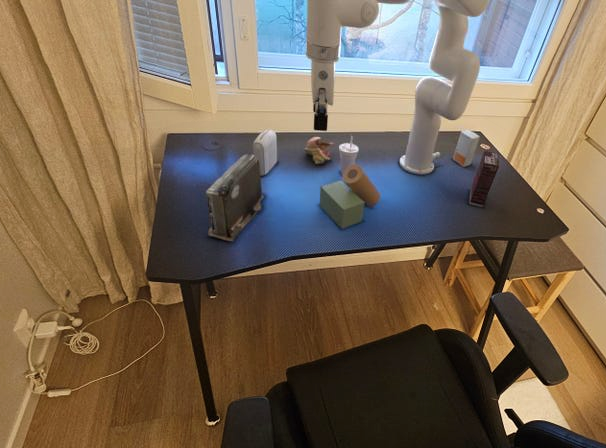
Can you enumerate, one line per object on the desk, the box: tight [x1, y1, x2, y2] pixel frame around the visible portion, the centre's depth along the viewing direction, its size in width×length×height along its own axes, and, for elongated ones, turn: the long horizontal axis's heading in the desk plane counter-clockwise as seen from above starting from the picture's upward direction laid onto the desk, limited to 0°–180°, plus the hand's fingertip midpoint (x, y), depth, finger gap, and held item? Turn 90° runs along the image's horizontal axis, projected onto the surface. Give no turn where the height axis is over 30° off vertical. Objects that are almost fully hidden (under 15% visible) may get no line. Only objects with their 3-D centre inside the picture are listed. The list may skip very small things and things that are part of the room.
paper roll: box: [342, 164, 381, 208], centre depth 115 cm, size 13×6×15 cm, turn 129°
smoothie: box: [338, 135, 360, 176], centre depth 129 cm, size 6×6×14 cm
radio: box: [205, 152, 264, 242], centre depth 105 cm, size 23×9×15 cm, turn 164°
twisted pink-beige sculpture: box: [303, 136, 335, 165], centre depth 135 cm, size 9×10×10 cm
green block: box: [319, 179, 365, 230], centre depth 114 cm, size 7×12×7 cm, turn 39°
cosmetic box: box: [452, 129, 481, 168], centre depth 146 cm, size 6×4×12 cm
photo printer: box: [252, 129, 278, 176], centre depth 125 cm, size 10×4×12 cm, turn 169°
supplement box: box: [468, 150, 500, 208], centre depth 128 cm, size 9×5×16 cm, turn 170°
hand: (319, 120), depth 99 cm, fingers open, 9 cm apart
